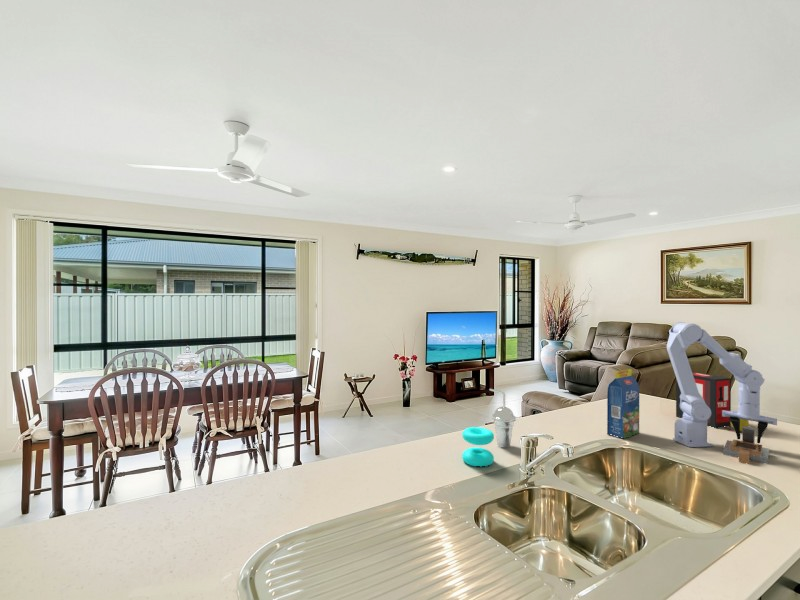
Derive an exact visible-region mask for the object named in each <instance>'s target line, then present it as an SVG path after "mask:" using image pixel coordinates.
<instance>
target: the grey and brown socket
mask: <svg viewBox="0 0 800 600" xmlns="http://www.w3.org/2000/svg"><path fill="white" fill-rule="evenodd" d="M725 442H726V443H725V445H724V446H723V455H725V456H729V455H730V456H729V457H734V458H738V457H739V458H738V463H742V464H746V463H747V465H749V464H750V462H751V461H752V462H756V463H762V464H766V465H769V459H770V448H767V447H763V444H760V443H755V444H754V443H749V442H744V441H742V440H739V439H733V440H729V439H728V440H726V441H725Z"/></svg>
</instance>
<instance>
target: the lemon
mask: <svg viewBox="0 0 800 600" xmlns="http://www.w3.org/2000/svg"><path fill="white" fill-rule="evenodd" d="M730 423H731V421H730ZM749 424H750V423H749V420H744V419H740V433H741V432H743V426H748V427H750V426H749ZM730 427H732V428H733V429H734V427H733V425H732V423H731V426H730Z"/></svg>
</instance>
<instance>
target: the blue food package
mask: <svg viewBox="0 0 800 600" xmlns="http://www.w3.org/2000/svg"><path fill="white" fill-rule="evenodd" d="M614 373H615V374H614V379H613V380H612V381H611V382H610V383H609V384H608V387H607V395H606V398H607V400H606V403H607V404H606V405H607V410H606V412H607V413H606V414H607V415H606V421H607V423H606V425H607V426H606V427H607V428H606V430H607V431H606V434H607V435H608V434H612V435H615V436H618V437H622V438H624V439H627V438H629V436H630V437H633V436H632V435H634V436H635V434H636V435H637V434H640V387H639V382H637V380H636V379H635V377H634V376H633V375H632V373H633V369H632V368H629V369H623V370H616V371H615V372H614ZM626 437H627V438H626Z"/></svg>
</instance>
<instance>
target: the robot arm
mask: <svg viewBox="0 0 800 600" xmlns="http://www.w3.org/2000/svg"><path fill="white" fill-rule="evenodd" d="M668 332H669V334H668V335H669V336H668V340H667V344H666V350H667V354H668V357H669V360H670V362H671V363H670V364H671V365H672V368H673V369H672V370H673V372H674V375H675V379H676V378H677V381H678V385H679V388H680V391H681V395H680V409H681V410H682V411H683V417H682V418H678V419H676V420H675V422H674V437H673V438H672V440H673V441H675V442H678V443H679V444H682V445H683V446H684V445H685V446H686V447H688V448H701V447H702V448H703V447H705V448H706V447H707V448H708V447H709V448H710V447H714V444H712V443H709V442H708V426H707V420H708V419H709V418H710V416H711V410H710V408H709V407H708V406H707V405H706V403H705V401H704V399H703V398H702V396H701V395H700V394H699V392H698V389H697V386H696V383H695V380H694V377H693V374H692V372H693V371H692V368H691V364H690V361H689V358H688V356H687V353H686V350H688V348H689V346H691V345H693V344H694V343H699V344H701V345H703V346H704V347H705V348H706V349H707V350H708V351H710V352H711V353H712V354H714V355H715V356H716V357H718V359H719V362H718V363H719V364H720V365H722V367H724V368H725V369H726V370H727V371H728V372H729V373H731V375H733V377H734V380H735V381H737V383H738V387H737V389H738V390H737V391H738V395H737V398H738V399H737V400H738V401H737V411H733V410H731V411H725V410H723V411H722V416H723V417H730V421H731V423H732V425H733V427H734V428H733V427H732V428H733V429H734V432H735V434H736V440H739V441H741V432H740V419H744V420H748V421H751V422H757V439H756V444H760V443H761V439H762V436H763V435H764V432H765V431H766V430H767V428H768V425H773V426H778V419H777V418H774V417H769V416H765V415H760V414H761V413H760V412H761V411H760V410H761V409H760V405H761V403H760V401H761V400H760V398H761V386H762V385H763V384H764V382H765V378H764V377H763V374H762V373H761V372H760V371H759V370H755V369H753V366H752V365H751V364H749V363H747V362H746V361H745V360H743V359H742V355H741V354H739V353H735V352H729V351H727V350H726V349H725V348H724V347H723V346H722V345H721V344H720V343H719V342H718V341H717V340H716V339H715V338H713V337H712V336H711V335H710V334H709V333H708V332H707V331H706V330H705V329H704V328H702V327H701V326H700V325H698V324H696V323H686V322H676V323H674V324H673V326H672V327H671V328H670V329H669V330H668Z"/></svg>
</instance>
